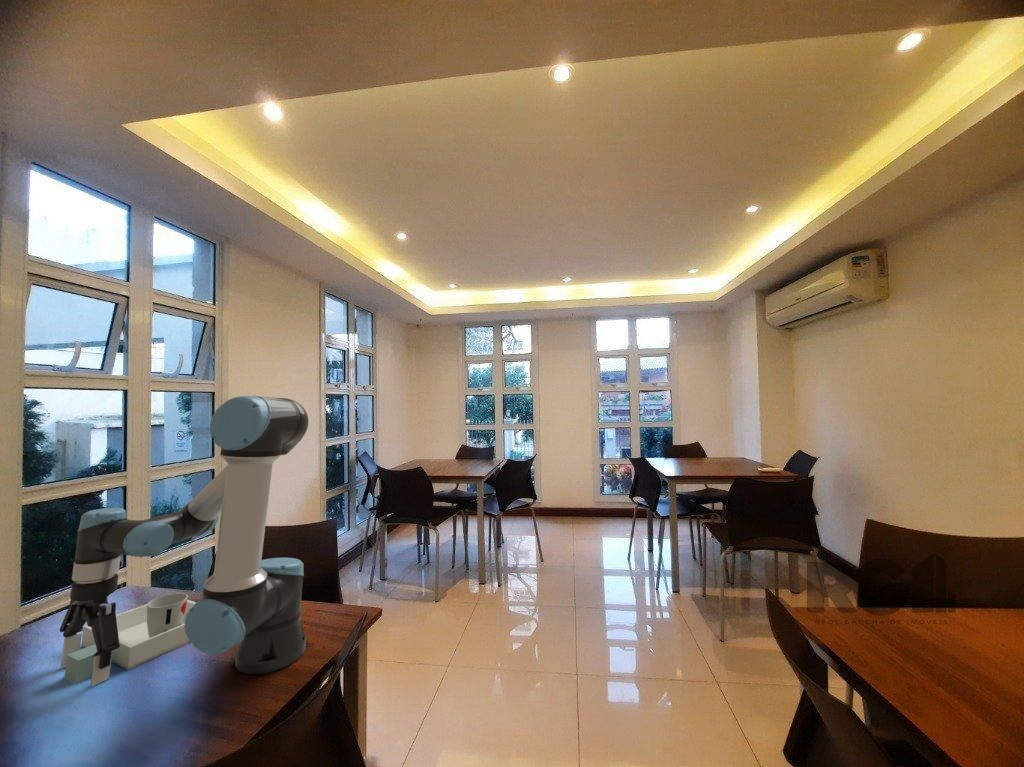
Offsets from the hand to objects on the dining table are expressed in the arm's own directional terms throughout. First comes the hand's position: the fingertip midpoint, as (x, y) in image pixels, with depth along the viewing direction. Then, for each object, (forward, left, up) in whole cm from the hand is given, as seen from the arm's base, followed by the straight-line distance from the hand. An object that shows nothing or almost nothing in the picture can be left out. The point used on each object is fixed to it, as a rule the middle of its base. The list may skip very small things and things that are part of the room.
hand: (84, 673), depth 89 cm
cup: (-1, -15, 0) cm, 15 cm away
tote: (+4, -15, 0) cm, 15 cm away
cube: (0, 0, 0) cm, 0 cm away
